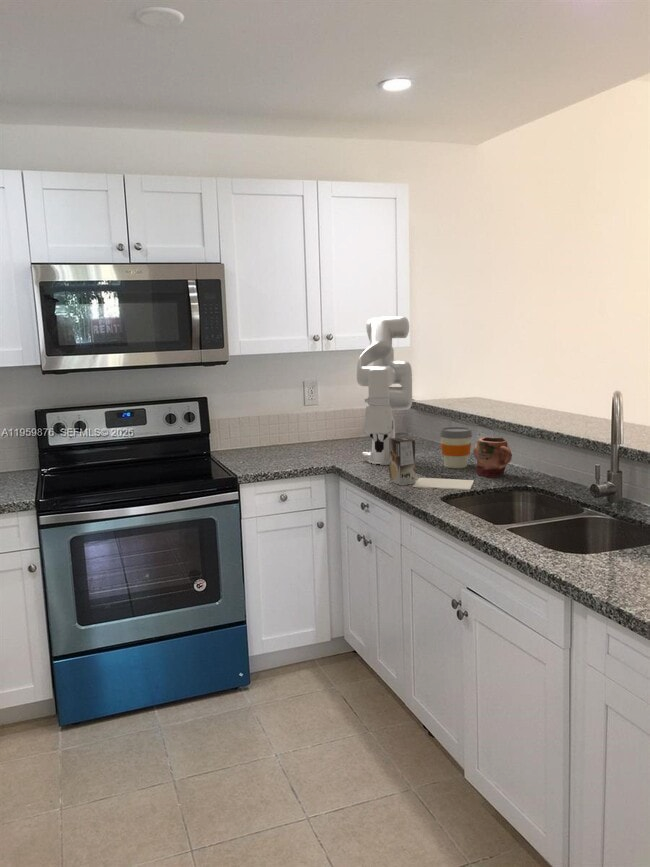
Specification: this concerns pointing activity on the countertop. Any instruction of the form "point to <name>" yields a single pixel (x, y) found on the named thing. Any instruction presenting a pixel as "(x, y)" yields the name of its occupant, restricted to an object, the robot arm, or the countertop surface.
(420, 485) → the mat
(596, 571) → the countertop surface
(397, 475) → the coffee box
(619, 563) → the countertop surface
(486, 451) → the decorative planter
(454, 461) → the reusable coffee cup
